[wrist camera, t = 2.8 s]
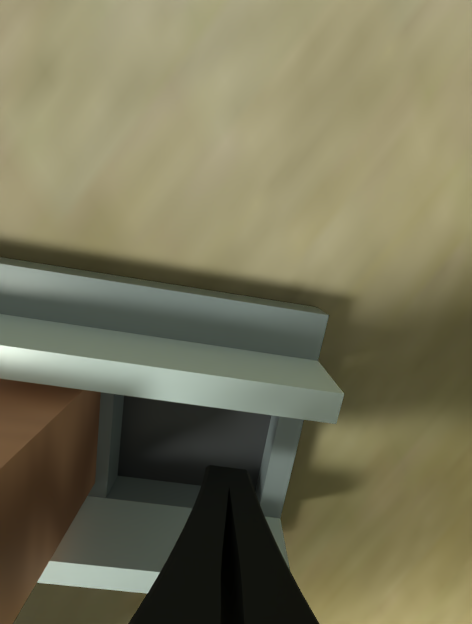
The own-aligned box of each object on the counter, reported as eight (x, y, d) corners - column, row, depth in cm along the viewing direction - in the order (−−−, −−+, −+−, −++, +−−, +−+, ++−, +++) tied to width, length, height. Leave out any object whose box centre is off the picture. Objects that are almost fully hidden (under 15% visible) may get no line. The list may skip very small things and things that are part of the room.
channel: (264, 535, 14) (277, 643, 10) (-64, 498, 13) (-186, 601, 9) (316, 306, 12) (359, 335, 8) (-84, 243, 11) (-262, 240, 7)
